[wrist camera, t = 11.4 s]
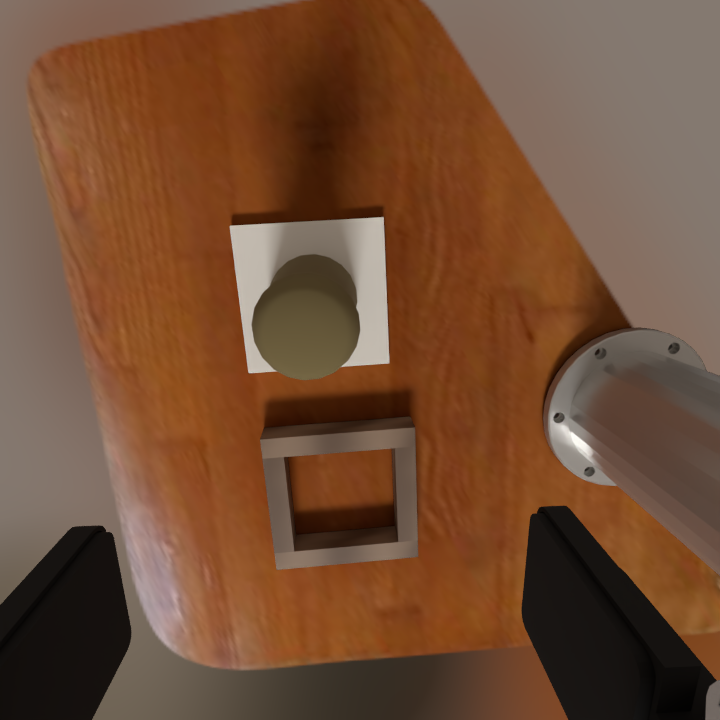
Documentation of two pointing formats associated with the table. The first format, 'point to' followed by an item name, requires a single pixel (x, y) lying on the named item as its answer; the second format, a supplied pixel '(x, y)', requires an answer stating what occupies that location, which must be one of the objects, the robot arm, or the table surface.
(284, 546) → the holder
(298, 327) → the cork
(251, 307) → the coaster
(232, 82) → the table surface
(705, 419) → the robot arm
